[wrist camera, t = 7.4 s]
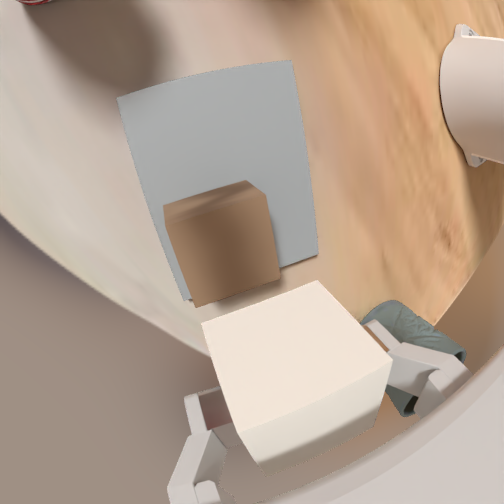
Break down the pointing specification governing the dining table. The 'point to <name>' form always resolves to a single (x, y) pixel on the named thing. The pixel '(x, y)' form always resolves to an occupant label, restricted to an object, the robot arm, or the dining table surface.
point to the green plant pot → (413, 332)
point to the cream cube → (297, 375)
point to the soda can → (33, 2)
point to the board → (225, 148)
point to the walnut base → (223, 241)
